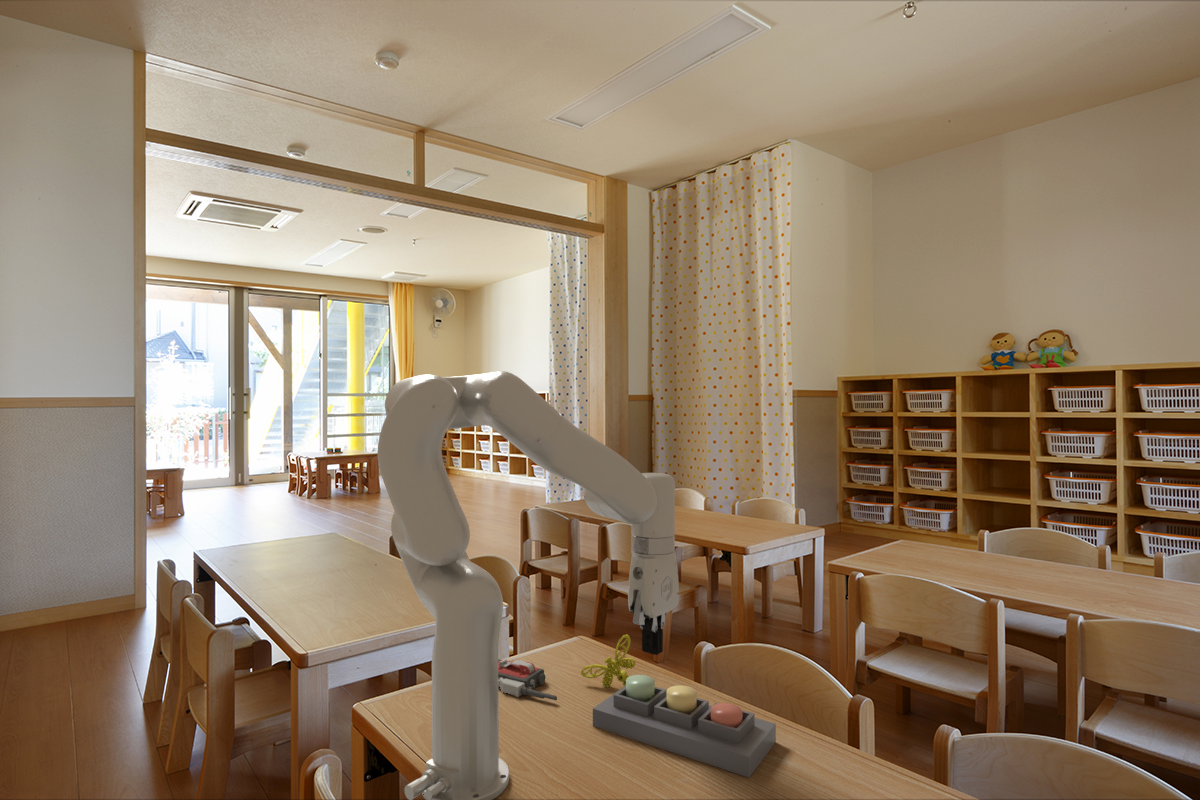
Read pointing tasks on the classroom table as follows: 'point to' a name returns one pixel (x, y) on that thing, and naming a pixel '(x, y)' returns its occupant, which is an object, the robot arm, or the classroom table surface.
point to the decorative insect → (616, 665)
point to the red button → (726, 714)
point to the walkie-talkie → (521, 679)
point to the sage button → (640, 687)
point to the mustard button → (682, 699)
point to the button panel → (688, 731)
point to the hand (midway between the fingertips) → (652, 651)
